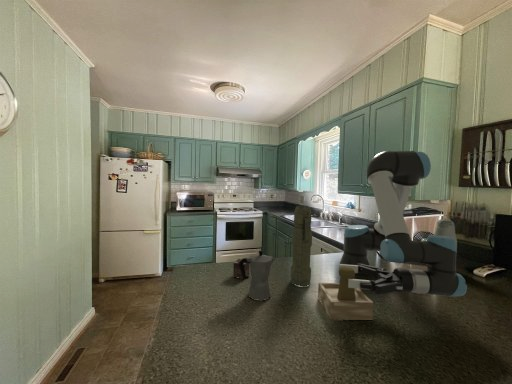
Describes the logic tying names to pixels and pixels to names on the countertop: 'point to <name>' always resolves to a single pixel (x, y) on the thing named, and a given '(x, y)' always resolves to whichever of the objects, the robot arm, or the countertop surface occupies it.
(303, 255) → the thermos
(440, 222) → the grey rounded cylinder
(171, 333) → the countertop surface
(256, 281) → the coffeepot
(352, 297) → the cork
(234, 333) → the countertop surface
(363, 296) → the oak stand
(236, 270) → the box
